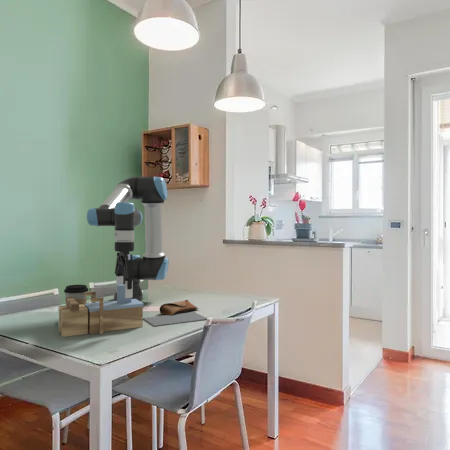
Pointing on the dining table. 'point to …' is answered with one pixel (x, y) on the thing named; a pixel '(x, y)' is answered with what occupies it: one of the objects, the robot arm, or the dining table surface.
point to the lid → (116, 302)
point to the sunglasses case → (177, 307)
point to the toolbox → (97, 318)
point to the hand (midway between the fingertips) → (124, 294)
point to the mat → (174, 319)
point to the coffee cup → (76, 293)
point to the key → (72, 304)
